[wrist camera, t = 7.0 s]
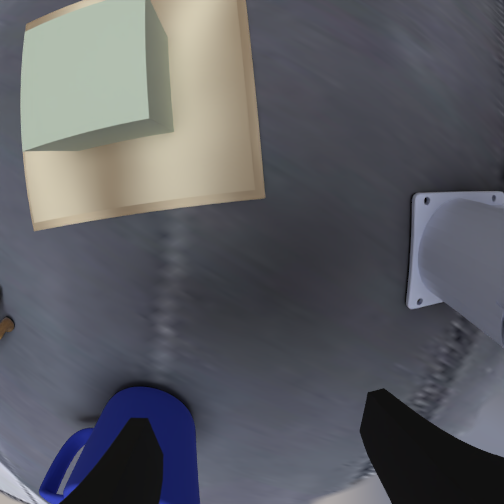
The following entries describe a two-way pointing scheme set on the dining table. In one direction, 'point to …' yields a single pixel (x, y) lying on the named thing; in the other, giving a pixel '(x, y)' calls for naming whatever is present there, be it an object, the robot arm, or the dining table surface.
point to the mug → (107, 429)
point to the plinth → (169, 144)
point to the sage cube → (95, 78)
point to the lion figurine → (6, 326)
